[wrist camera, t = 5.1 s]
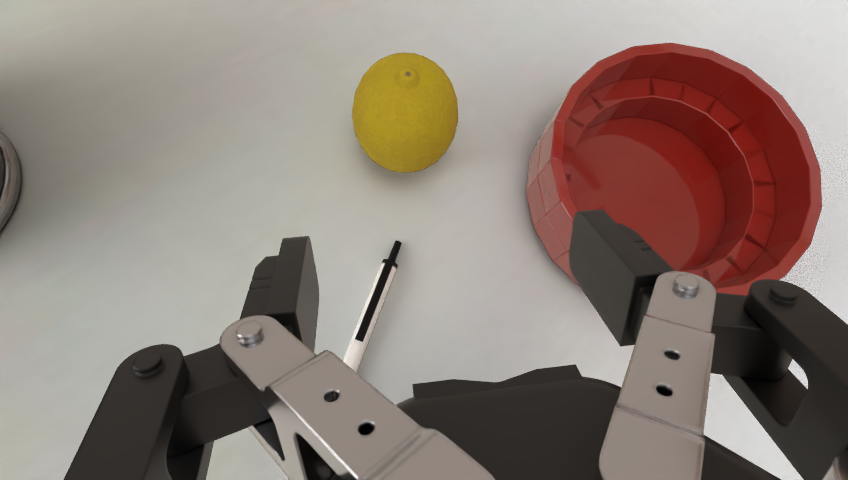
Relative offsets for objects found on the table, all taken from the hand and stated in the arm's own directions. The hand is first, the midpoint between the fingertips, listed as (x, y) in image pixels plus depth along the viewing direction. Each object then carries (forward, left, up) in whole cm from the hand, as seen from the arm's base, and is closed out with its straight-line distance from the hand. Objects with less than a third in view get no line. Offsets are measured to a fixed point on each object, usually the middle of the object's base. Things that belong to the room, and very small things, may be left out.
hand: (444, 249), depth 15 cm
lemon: (-7, +6, -13) cm, 16 cm away
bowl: (+5, +14, -13) cm, 20 cm away
